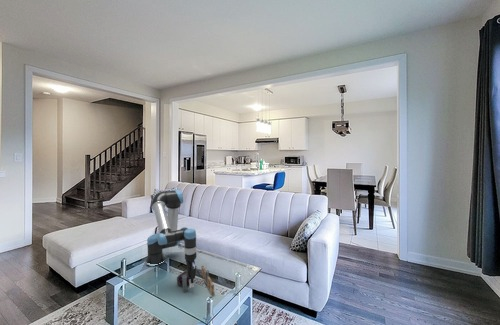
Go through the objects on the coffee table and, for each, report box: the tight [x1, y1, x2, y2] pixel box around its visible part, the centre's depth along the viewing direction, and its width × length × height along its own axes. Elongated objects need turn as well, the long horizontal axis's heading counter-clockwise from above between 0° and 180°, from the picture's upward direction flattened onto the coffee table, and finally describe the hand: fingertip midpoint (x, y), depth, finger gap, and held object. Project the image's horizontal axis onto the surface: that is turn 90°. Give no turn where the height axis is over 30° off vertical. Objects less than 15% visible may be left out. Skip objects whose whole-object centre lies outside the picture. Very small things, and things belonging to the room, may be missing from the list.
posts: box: [182, 269, 210, 294], centre depth 156 cm, size 3×18×11 cm, turn 116°
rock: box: [176, 270, 189, 287], centre depth 162 cm, size 12×9×10 cm
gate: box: [201, 265, 207, 283], centre depth 166 cm, size 12×1×7 cm, turn 26°
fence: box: [206, 275, 215, 297], centre depth 152 cm, size 12×1×7 cm, turn 26°
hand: (191, 286), depth 152 cm, fingers closed
